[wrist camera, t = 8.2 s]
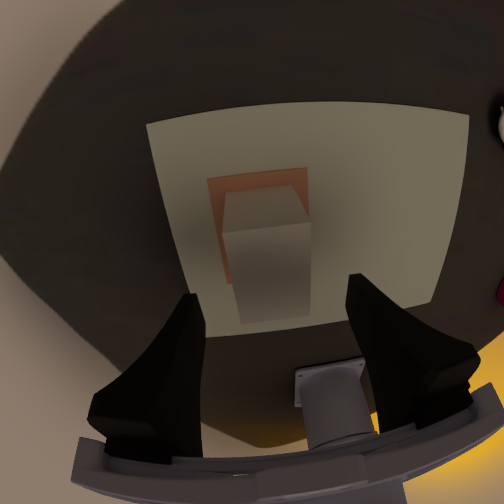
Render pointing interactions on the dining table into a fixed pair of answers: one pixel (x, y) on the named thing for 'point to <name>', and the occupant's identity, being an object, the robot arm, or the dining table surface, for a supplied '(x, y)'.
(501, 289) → the pepper mill
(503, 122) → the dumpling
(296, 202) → the plain grayish brown block
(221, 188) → the flat orange brown slab
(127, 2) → the dining table surface
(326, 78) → the dining table surface
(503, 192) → the dining table surface
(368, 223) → the mat
